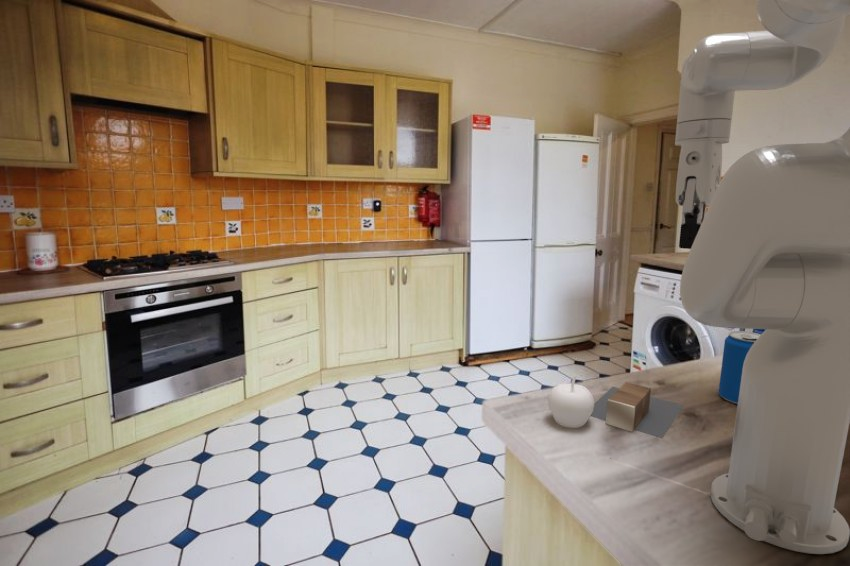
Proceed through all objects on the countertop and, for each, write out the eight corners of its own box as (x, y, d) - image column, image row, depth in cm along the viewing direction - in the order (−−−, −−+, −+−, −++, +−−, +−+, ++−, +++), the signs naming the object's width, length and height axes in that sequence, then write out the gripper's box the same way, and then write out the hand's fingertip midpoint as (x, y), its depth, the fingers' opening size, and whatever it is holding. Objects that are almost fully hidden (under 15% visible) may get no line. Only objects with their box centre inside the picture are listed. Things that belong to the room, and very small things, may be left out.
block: (648, 410, 77) (632, 431, 70) (624, 403, 79) (605, 423, 72) (650, 388, 76) (634, 407, 69) (625, 382, 78) (607, 400, 72)
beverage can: (724, 406, 79) (732, 339, 76) (713, 391, 85) (720, 329, 82) (768, 411, 77) (778, 343, 74) (753, 395, 83) (762, 331, 81)
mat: (662, 440, 68) (662, 438, 68) (583, 415, 76) (583, 413, 76) (683, 407, 79) (683, 404, 78) (612, 388, 86) (612, 386, 86)
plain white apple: (602, 427, 72) (606, 380, 70) (569, 439, 69) (571, 389, 67) (570, 409, 78) (572, 365, 77) (538, 419, 75) (539, 373, 73)
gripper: (721, 127, 65) (707, 254, 69) (736, 136, 76) (723, 245, 80) (664, 132, 70) (654, 251, 74) (686, 140, 81) (676, 243, 85)
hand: (690, 248), depth 77 cm, fingers closed
